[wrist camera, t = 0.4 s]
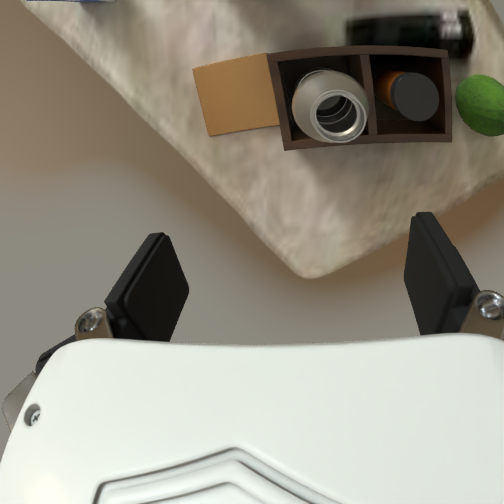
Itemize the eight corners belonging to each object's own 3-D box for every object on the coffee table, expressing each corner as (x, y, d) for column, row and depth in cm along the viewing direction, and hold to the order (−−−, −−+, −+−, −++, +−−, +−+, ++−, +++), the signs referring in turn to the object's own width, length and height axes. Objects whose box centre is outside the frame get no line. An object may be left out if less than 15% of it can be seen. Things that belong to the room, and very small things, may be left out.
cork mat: (193, 69, 34) (192, 69, 34) (267, 52, 32) (267, 52, 32) (209, 135, 40) (208, 136, 40) (281, 124, 38) (281, 124, 37)
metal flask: (353, 104, 34) (399, 146, 18) (306, 121, 37) (312, 175, 21) (334, 60, 31) (368, 59, 15) (285, 78, 34) (273, 93, 18)
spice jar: (369, 68, 31) (391, 72, 23) (406, 69, 30) (437, 74, 22) (373, 106, 34) (396, 121, 26) (409, 106, 33) (440, 121, 25)
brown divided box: (272, 55, 32) (265, 54, 26) (421, 49, 28) (447, 50, 21) (286, 134, 38) (284, 151, 32) (427, 126, 34) (452, 142, 27)
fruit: (492, 119, 30) (540, 145, 21) (452, 129, 33) (495, 158, 24) (480, 68, 26) (531, 79, 17) (438, 76, 29) (483, 87, 20)
